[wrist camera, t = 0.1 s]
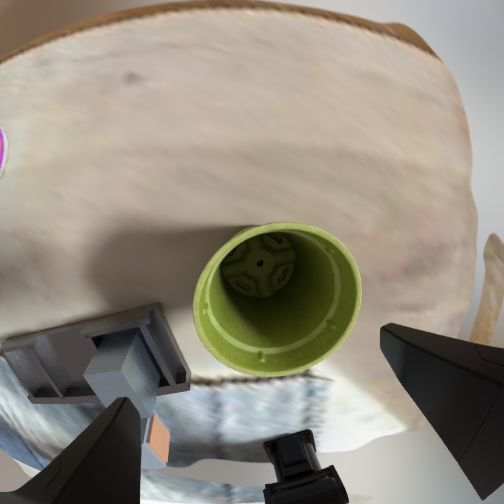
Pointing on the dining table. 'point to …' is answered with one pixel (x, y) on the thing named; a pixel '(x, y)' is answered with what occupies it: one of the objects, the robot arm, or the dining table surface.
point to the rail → (77, 349)
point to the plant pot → (277, 299)
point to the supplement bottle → (3, 150)
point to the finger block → (154, 442)
